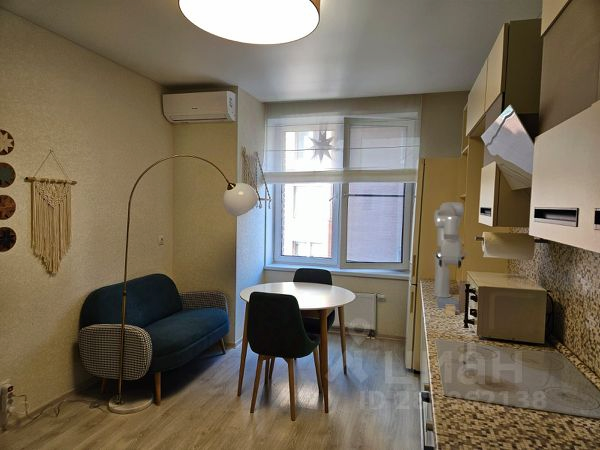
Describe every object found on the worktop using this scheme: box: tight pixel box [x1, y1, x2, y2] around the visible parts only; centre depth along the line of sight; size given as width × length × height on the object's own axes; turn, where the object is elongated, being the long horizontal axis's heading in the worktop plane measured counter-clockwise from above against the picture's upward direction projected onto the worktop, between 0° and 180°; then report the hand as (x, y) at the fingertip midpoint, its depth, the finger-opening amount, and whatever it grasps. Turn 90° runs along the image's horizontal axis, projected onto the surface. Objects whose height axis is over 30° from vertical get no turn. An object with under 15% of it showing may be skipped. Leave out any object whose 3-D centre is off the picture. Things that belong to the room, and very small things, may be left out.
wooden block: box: [458, 280, 468, 313], centre depth 218 cm, size 9×4×18 cm, turn 75°
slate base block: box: [436, 297, 459, 311], centre depth 230 cm, size 12×12×4 cm
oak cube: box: [444, 304, 456, 316], centre depth 214 cm, size 5×5×5 cm
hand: (449, 267), depth 212 cm, fingers open, 9 cm apart
